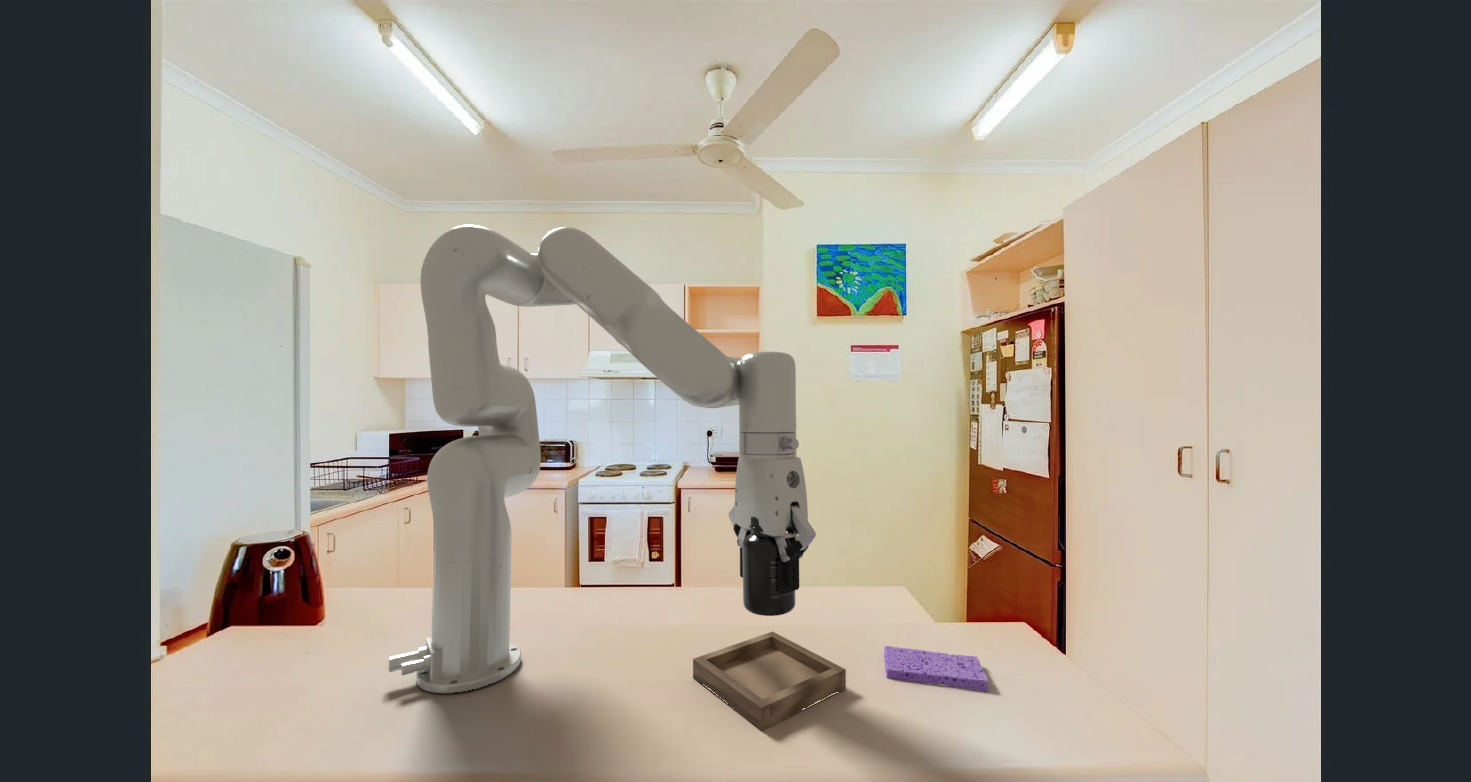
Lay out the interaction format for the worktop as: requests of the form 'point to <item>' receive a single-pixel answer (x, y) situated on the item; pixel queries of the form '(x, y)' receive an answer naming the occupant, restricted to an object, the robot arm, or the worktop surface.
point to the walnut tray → (768, 678)
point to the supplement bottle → (763, 574)
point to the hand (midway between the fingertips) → (768, 582)
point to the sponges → (935, 668)
